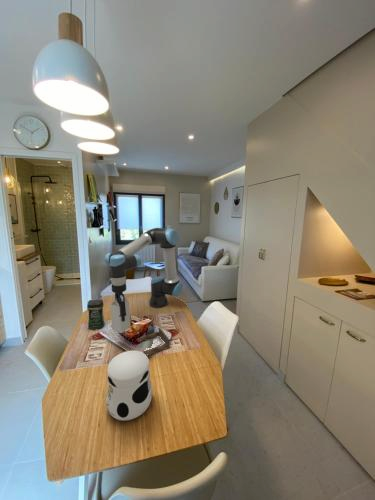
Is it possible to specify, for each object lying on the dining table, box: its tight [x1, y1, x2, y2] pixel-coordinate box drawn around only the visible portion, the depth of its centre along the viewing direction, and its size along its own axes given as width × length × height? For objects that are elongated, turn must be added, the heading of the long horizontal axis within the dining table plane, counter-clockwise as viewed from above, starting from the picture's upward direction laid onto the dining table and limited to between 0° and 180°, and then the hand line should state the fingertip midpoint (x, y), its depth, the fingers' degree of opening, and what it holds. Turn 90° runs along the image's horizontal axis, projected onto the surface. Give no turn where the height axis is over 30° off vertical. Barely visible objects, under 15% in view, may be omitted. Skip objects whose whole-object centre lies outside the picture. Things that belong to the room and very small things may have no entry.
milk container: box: [105, 350, 153, 422], centre depth 79 cm, size 17×17×18 cm
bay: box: [137, 327, 171, 356], centre depth 116 cm, size 15×14×5 cm
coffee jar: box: [86, 299, 105, 330], centre depth 133 cm, size 10×8×19 cm
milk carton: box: [109, 295, 131, 334], centre depth 113 cm, size 7×7×19 cm
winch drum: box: [147, 321, 156, 335], centre depth 128 cm, size 4×5×8 cm
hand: (121, 321), depth 114 cm, fingers closed on milk carton, 10 cm apart
